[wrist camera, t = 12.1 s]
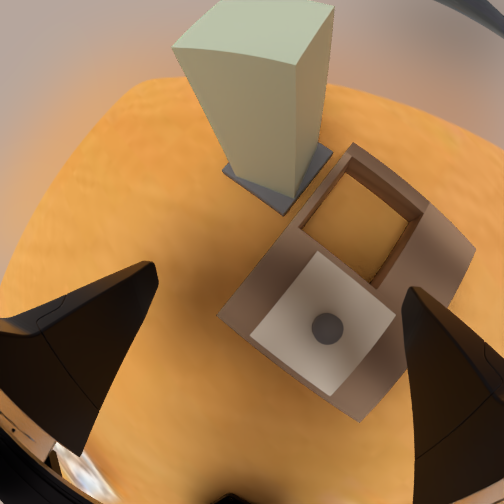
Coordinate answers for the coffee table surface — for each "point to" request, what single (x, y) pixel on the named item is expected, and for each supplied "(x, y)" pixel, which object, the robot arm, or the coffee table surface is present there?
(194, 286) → the coffee table surface
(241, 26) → the sage block
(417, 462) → the robot arm
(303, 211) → the brown sliding lid box
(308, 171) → the charcoal mat
